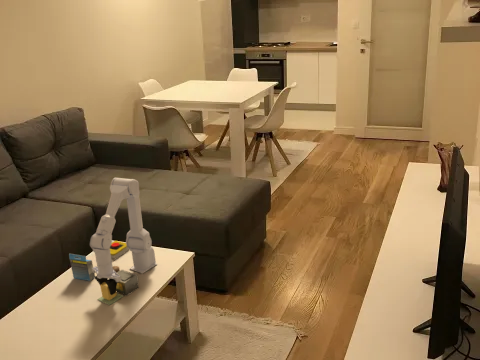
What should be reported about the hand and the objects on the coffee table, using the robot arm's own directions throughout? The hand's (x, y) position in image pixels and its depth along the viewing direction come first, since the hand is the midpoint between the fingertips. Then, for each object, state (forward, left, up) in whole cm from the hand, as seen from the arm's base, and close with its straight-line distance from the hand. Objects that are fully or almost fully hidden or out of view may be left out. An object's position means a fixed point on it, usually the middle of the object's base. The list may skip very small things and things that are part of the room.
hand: (109, 292), depth 207 cm
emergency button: (-27, -28, -4) cm, 39 cm away
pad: (0, 0, -3) cm, 3 cm away
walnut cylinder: (-10, -8, -3) cm, 14 cm away
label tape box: (-5, -22, -3) cm, 23 cm away
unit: (-8, 0, -3) cm, 9 cm away
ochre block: (0, 0, -2) cm, 2 cm away
